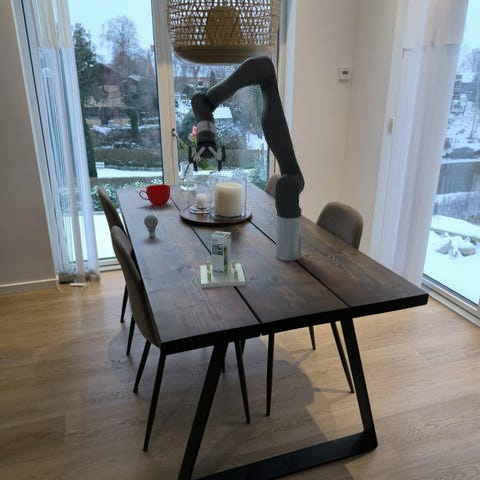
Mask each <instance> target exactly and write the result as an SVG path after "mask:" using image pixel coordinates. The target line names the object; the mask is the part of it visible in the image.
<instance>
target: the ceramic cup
mask: <svg viewBox="0 0 480 480" xmlns="http://www.w3.org/2000/svg"><path fill="white" fill-rule="evenodd" d="M141 193H145V194H146V197H147V198H145V197H143V195H141ZM138 195H139V197H140V198H141V199H143V200H145V201H149V203H151V205H152V206H154V207H163V206H166V204H167V203H168V202H169V200H170V197H171V186H170V185H167V184H162V183H161V184H152V185H148V186H146V188H145V190H140V191H139V192H138Z"/></svg>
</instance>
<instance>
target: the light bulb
mask: <svg viewBox="0 0 480 480" xmlns="http://www.w3.org/2000/svg"><path fill="white" fill-rule="evenodd" d="M143 223H144V226H145V227H146V228H147V232H148V235H149V237H150V238H153V237H155V236H156V228H157V226H158V225H159V219H158V217H157V216H156V215H154V214H149V215H146V216H145V218H144V220H143Z"/></svg>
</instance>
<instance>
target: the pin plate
mask: <svg viewBox="0 0 480 480" xmlns="http://www.w3.org/2000/svg"><path fill="white" fill-rule="evenodd" d="M199 267H200V268H199V270H200V286H201V289H202V288H205V289H206V288H216V287H217V288H219V287H239V286H240V287H241V286H246V279H245V275H244V272H243V268H242V264H241V263H236V260H235V259H231V270H230V272H229V273H228V274H227V276H226V275H219V274H212V264H211V261H206V262H205V264H202V265H201V264H200V266H199Z"/></svg>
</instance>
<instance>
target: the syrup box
mask: <svg viewBox="0 0 480 480" xmlns="http://www.w3.org/2000/svg"><path fill="white" fill-rule="evenodd" d="M210 248H211V249H210V250H211V252H210V253H211V254H210V255H211V265H212V274H219V275H226V276H227V274H228V273H229V272H230V270H231V261H232V233H231V232H230V231H229V232H228V231H218V230H216V231H214V232H213V233H212V234H211V235H210Z"/></svg>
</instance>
